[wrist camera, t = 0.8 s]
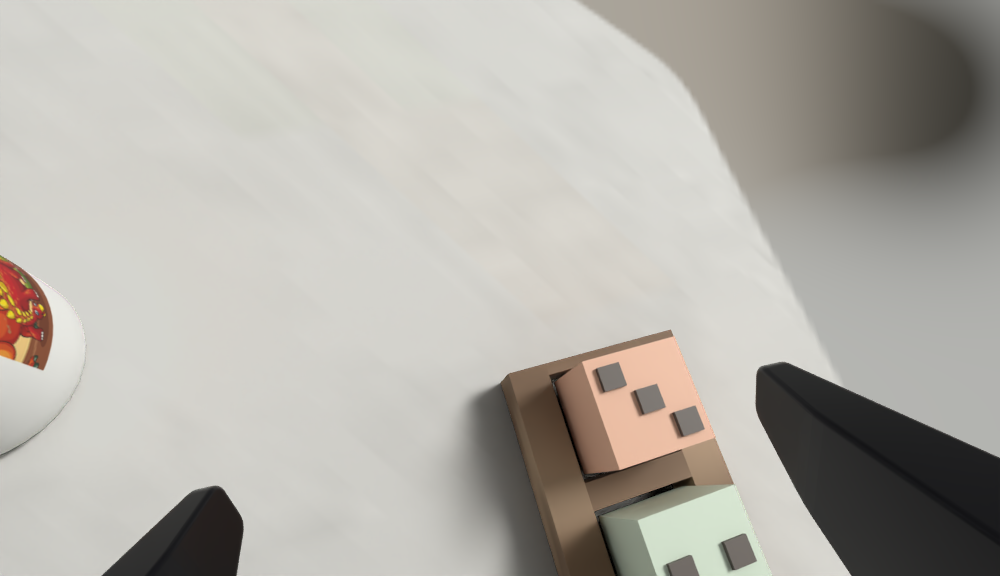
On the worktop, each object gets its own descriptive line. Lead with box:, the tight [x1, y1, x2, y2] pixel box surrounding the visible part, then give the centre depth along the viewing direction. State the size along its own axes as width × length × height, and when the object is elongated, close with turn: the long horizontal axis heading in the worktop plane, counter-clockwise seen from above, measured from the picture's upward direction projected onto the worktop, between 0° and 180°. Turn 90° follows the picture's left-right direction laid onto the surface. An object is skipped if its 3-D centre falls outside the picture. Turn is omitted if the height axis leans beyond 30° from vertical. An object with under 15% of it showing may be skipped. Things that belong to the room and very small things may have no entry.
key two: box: [598, 484, 772, 576], centre depth 20 cm, size 4×4×4 cm
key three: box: [554, 336, 716, 474], centre depth 22 cm, size 4×4×4 cm
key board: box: [501, 330, 734, 576], centre depth 22 cm, size 17×8×2 cm, turn 17°
